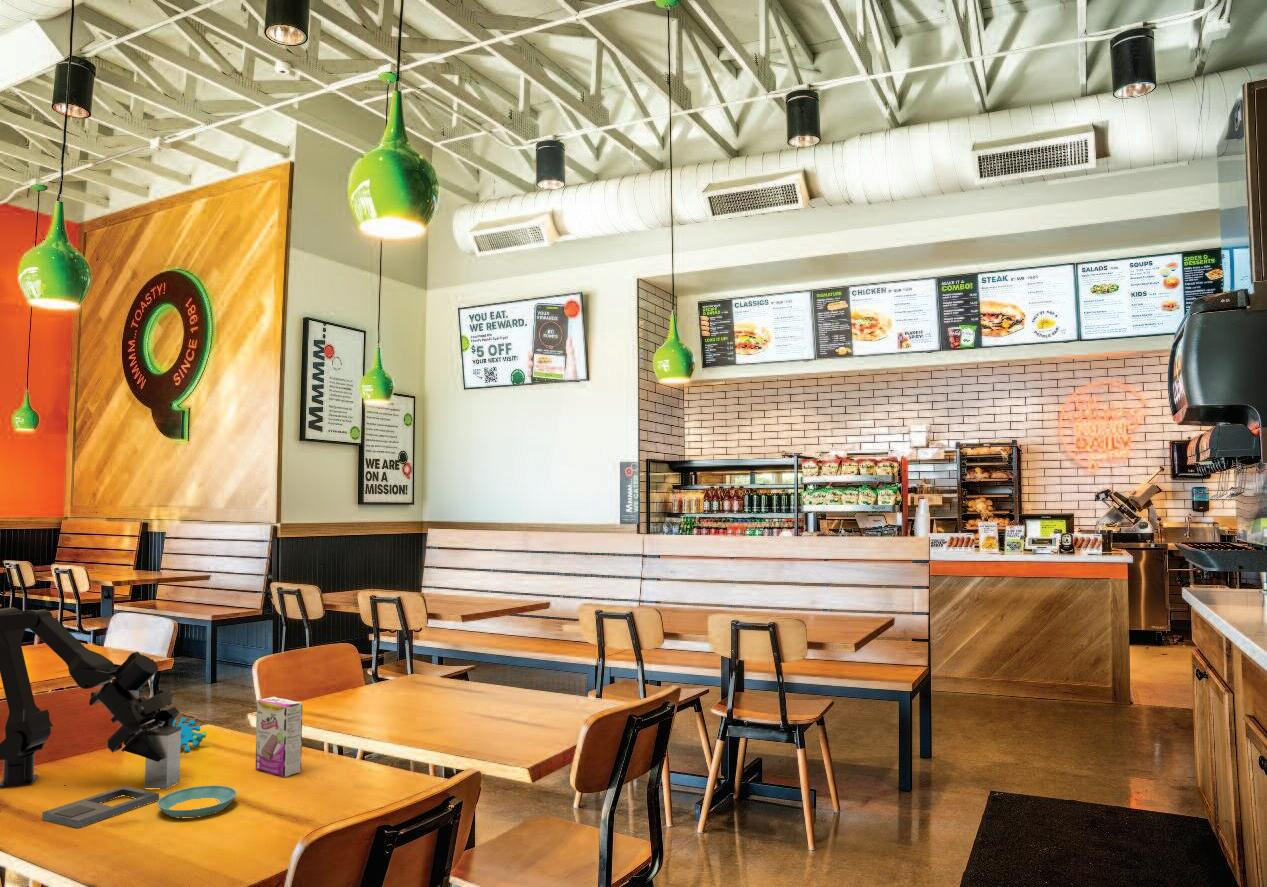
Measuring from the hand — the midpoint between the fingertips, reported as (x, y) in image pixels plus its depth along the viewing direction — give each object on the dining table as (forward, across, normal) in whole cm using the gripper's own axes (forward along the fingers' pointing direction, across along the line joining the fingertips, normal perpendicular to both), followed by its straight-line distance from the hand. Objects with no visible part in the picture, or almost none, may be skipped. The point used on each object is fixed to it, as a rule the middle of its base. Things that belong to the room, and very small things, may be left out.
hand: (169, 755), depth 198 cm
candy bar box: (+19, +12, -9) cm, 24 cm away
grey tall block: (+4, 0, +6) cm, 7 cm away
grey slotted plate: (+1, -15, +8) cm, 17 cm away
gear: (-4, +27, +14) cm, 31 cm away
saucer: (+15, -13, -5) cm, 21 cm away
